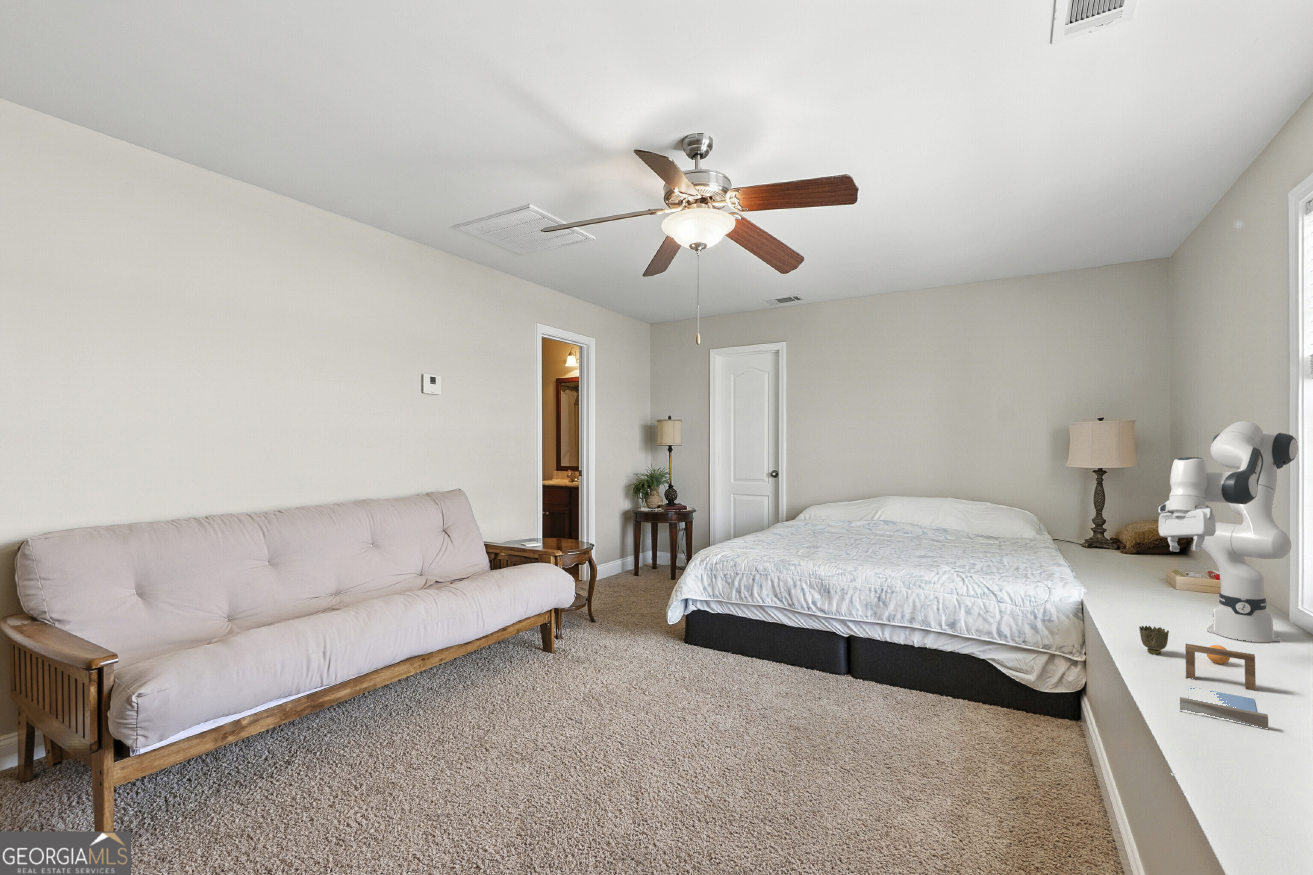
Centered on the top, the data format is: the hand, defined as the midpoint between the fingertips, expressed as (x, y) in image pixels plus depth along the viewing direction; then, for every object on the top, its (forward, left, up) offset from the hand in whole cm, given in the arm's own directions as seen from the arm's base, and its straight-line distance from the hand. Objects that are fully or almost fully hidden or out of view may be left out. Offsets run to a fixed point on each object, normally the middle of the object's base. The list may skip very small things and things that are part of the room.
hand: (1185, 551), depth 192 cm
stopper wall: (+45, +7, -34) cm, 57 cm away
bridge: (+15, +7, -34) cm, 38 cm away
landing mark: (+31, +7, -34) cm, 47 cm away
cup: (-4, -8, -35) cm, 36 cm away
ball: (-5, +7, -32) cm, 33 cm away
